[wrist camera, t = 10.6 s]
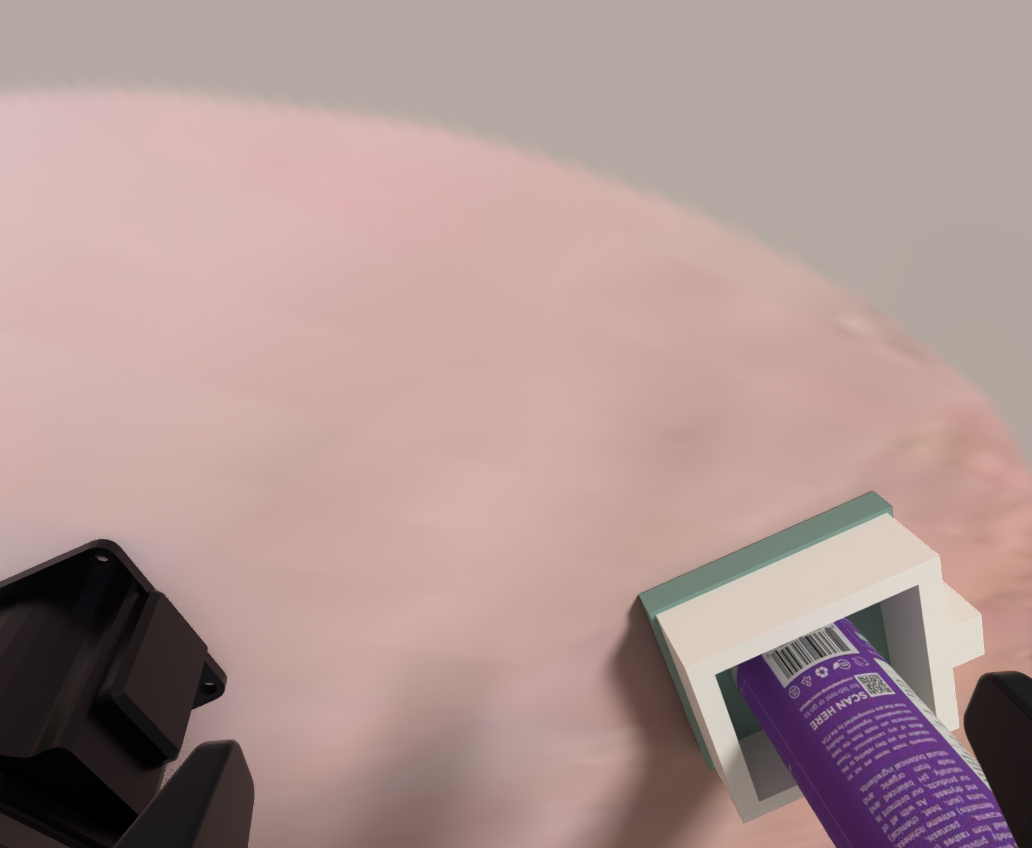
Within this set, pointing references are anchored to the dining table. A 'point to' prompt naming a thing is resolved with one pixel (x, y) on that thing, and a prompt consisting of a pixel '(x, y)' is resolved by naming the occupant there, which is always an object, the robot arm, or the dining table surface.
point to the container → (868, 747)
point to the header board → (806, 629)
